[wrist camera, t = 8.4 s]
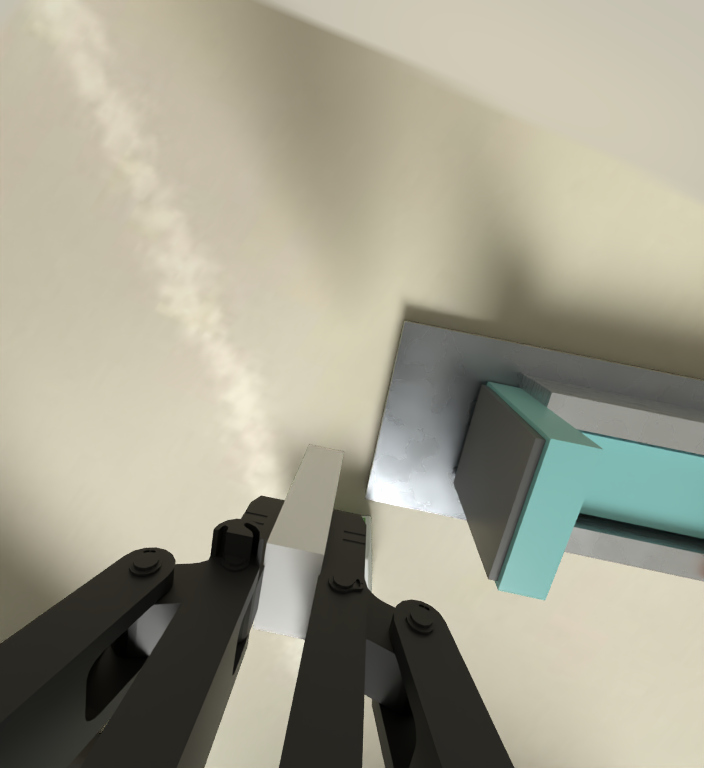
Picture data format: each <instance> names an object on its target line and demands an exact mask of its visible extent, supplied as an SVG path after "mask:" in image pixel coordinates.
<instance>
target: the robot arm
mask: <svg viewBox="0 0 704 768" xmlns="http://www.w3.org/2000/svg"><path fill="white" fill-rule="evenodd" d="M343 456H344V451H339V450H334V449H329V448H324V447H319V446H314V445H309V446H308V448H307V451H306V453H305V455H304V458H303V460H302V462H301V465H300V467H299V469H298V472H297V474H296V476H295V479H294V481H293V483H292V486H291V488H290V490H289V493H288V495H287V497H286V499H285V500H280V499H275V498H270V497H265V496H260V497H258V498H257V499H255V500H254V501H252V502H251V503H250V505H249V506H248V508H247V510H246V512H245V513H244V515H243V517H242V518H241V519H233V520H227V521H225V522H223V523H220V524H219V525H218V526H217V527H216V528H215V529H214V531H213V540H212V548H211V556H210V558H209V560H207V561H204V562H200V563H193V564H175V559H174V557H173V554H171V553H170V552H168V551H167V550H164V549H160V548H143V549H139V550H135V551H133V552H131V553H129V554H127V555H125V556H124V557H122V558H121V559H119V560H118V561H116V562H115V563H114V564H112V565H111V566H109V567H108V568H107V569H105V570H104V571H102V572H101V573H100V574H98V575H97V576H95V577H94V578H93V579H91V580H90V581H88V582H87V583H86V584H84V585H83V586H81V587H80V588H78V589H77V590H76V591H74V592H73V593H71V594H70V595H69V596H67V597H66V598H64V599H63V600H62V601H60V602H59V603H57V604H56V605H55V606H53V607H52V608H50V609H49V610H47V611H46V612H45V613H43V614H42V615H40V616H39V617H38V618H36V619H35V620H33V621H32V622H31V623H29V624H28V625H26V626H25V627H24V628H22V629H21V630H19V631H18V632H16V633H15V634H14V635H12V636H11V637H9V638H8V639H7V640H5V641H4V642H2V643H1V644H0V768H204V767H205V764H206V761H207V758H208V755H209V753H210V750H211V747H212V744H213V741H214V739H215V736H216V733H217V730H218V727H219V725H220V722H221V719H222V716H223V713H224V711H225V708H226V705H227V702H228V699H229V697H230V694H231V691H232V688H233V685H234V683H235V680H236V677H237V674H238V671H239V669H240V666H241V663H242V660H243V657H244V655H245V652H246V649H247V645H248V639H249V633H250V629H251V627H252V624H253V621H254V625H253V629H257V630H262V631H266V632H271V633H276V634H281V635H285V636H290V637H295V638H300V639H304V640H305V643H304V648H303V653H302V658H301V663H300V667H299V672H298V677H297V682H296V687H295V692H294V697H293V702H292V706H291V711H290V716H289V721H288V726H287V731H286V736H285V741H284V745H283V750H282V755H281V760H280V765H279V768H362V753H363V720H364V694H365V695H367V696H368V697H370V698H372V707H373V712H374V717H375V721H376V726H377V731H378V736H379V740H380V745H381V750H382V755H383V759H384V764H385V768H514V766H513V764H512V762H511V760H510V758H509V756H508V754H507V751H506V749H505V747H504V745H503V743H502V741H501V739H500V737H499V734H498V732H497V730H496V728H495V726H494V724H493V722H492V720H491V717H490V715H489V713H488V711H487V709H486V707H485V705H484V703H483V700H482V698H481V696H480V694H479V692H478V690H477V688H476V686H475V683H474V681H473V679H472V677H471V675H470V673H469V671H468V669H467V667H466V664H465V662H464V660H463V658H462V656H461V654H460V652H459V650H458V647H457V645H456V643H455V641H454V639H453V637H452V635H451V633H450V630H449V628H448V626H447V624H446V622H445V620H444V619H443V617H442V616H441V615H440V613H439V612H438V611H436V610H435V609H434V608H433V607H432V606H430V605H428V604H426V603H424V602H422V601H417V600H406V601H402V602H401V603H399V604H398V605H397V606H396V608H395V607H393V606H391V605H389V604H387V603H385V602H383V601H381V600H380V599H378V598H377V597H376V596H375V595H373V594H372V593H371V591H370V590H369V589H368V587H367V584H366V581H365V553H366V527H367V525H366V523H365V521H364V520H363V518H362V516H361V515H358V514H353V513H348V512H344V511H339V510H334V509H333V507H334V502H335V497H336V492H337V486H338V481H339V476H340V471H341V466H342V461H343ZM254 618H255V619H254ZM110 718H111V719H110ZM109 719H110V720H109ZM108 720H109V722H108V724H107V725H106V727H105V728H104V730H103V732H102V733H101V734H97V733H98V732H99V731H100V729H101V728H102V727H103V726H104V725H105V724H106V723H107V721H108Z"/></svg>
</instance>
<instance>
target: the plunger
mask: <svg viewBox="0 0 704 768" xmlns="http://www.w3.org/2000/svg"><path fill="white" fill-rule="evenodd" d="M453 483H454V486H455V489H456V492H457V494H458V497H459V500H460V503H461V506H462V508H463V511H464V514H465V517H466V519H467V522H468V525H469V528H470V530H471V533H472V536H473V539H474V541H475V544H476V547H477V550H478V552H479V555H480V558H481V561H482V563H483V566H484V569H485V572H486V574H487V577H488V579H490V580H494V581H495V583H496V586H497V588H498V590H499V591H504V592H509V593H513V594H518V595H523V596H527V597H532V598H537V599H541V600H546V597H547V594H548V592H549V589H550V587H551V584H552V582H553V579H554V576H555V574H556V571H557V569H558V566H559V564H560V561H561V558H562V556H563V553H564V551H565V548H566V546H567V543H568V540H569V538H570V535H571V533H572V530H573V528H574V525H575V522H576V520H577V517H578V515H579V513H583V514H588V515H593V516H597V517H602V518H607V519H612V520H616V521H621V522H626V523H631V524H635V525H640V526H645V527H650V528H655V529H659V530H664V531H669V532H674V533H678V534H683V535H688V536H693V537H698V538H702V539H704V455H701V454H696V453H691V452H686V451H681V450H676V449H671V448H666V447H661V446H657V445H652V444H647V443H642V442H637V441H632V440H627V439H622V438H617V437H613V436H608V435H603V434H598V433H593V432H588V431H583V430H578V429H576V428H574V427H573V426H571V425H570V424H569V423H567V422H566V421H565V420H563V419H562V418H561V417H559V416H558V415H557V414H555V413H554V412H553V411H551V410H550V409H548V408H547V407H546V406H544V405H543V404H542V403H540V402H539V401H538V400H536V399H535V398H534V397H532V396H531V395H530V394H528V393H527V392H525V391H524V390H523V389H521V388H518V387H513V386H508V385H503V384H498V383H493V382H488V383H487V385H481V388H480V392H479V395H478V399H477V402H476V406H475V409H474V413H473V416H472V420H471V423H470V427H469V430H468V433H467V437H466V440H465V444H464V447H463V451H462V454H461V458H460V461H459V465H458V468H457V472H456V475H455V479H454V482H453Z"/></svg>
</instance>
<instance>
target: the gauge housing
mask: <svg viewBox="0 0 704 768" xmlns="http://www.w3.org/2000/svg"><path fill="white" fill-rule="evenodd" d="M488 382H493V383H498V384H503V385H508V386H513V387H518V388H521V389H523V390H524V391H525V392H527V393H528V394H530V395H531V396H532V397H534V398H535V399H536V400H538V401H539V402H540V403H542V404H543V405H544V406H546V407H547V408H548V409H550V410H551V411H553V412H554V413H555V414H557V415H558V416H559V417H561V418H562V419H563V420H565V421H566V422H567V423H569V424H570V425H571V426H573V427H574V428H576V429H578V430H583V431H588V432H593V433H598V434H603V435H608V436H613V437H617V438H622V439H627V440H632V441H637V442H642V443H647V444H652V445H657V446H661V447H666V448H671V449H676V450H681V451H686V452H691V453H696V454H701V455H704V380H702V379H697V378H692V377H687V376H682V375H677V374H672V373H667V372H662V371H657V370H652V369H647V368H642V367H637V366H632V365H627V364H622V363H617V362H612V361H607V360H602V359H597V358H592V357H587V356H582V355H577V354H572V353H567V352H562V351H557V350H552V349H547V348H542V347H537V346H532V345H527V344H522V343H517V342H512V341H507V340H502V339H497V338H492V337H487V336H482V335H477V334H472V333H467V332H462V331H457V330H452V329H447V328H442V327H437V326H432V325H427V324H422V323H417V322H412V321H407V320H404V323H403V327H402V331H401V336H400V340H399V345H398V349H397V354H396V358H395V363H394V367H393V372H392V376H391V381H390V385H389V389H388V394H387V398H386V403H385V407H384V412H383V416H382V421H381V425H380V430H379V434H378V439H377V443H376V448H375V452H374V456H373V461H372V465H371V470H370V474H369V479H368V483H367V488H366V494H365V499H368V500H373V501H377V502H382V503H387V504H392V505H396V506H401V507H406V508H410V509H415V510H420V511H425V512H429V513H434V514H439V515H444V516H448V517H453V518H458V519H463V520H467V519H466V517H465V514H464V511H463V508H462V506H461V503H460V500H459V497H458V494H457V492H456V489H455V486H454V483H453V482H454V479H455V475H456V472H457V468H458V465H459V461H460V458H461V454H462V451H463V447H464V444H465V440H466V437H467V433H468V430H469V427H470V423H471V420H472V416H473V413H474V409H475V406H476V402H477V399H478V395H479V392H480V388H481V385H487V383H488ZM564 552H568V553H572V554H577V555H582V556H586V557H591V558H596V559H601V560H605V561H610V562H615V563H619V564H624V565H629V566H634V567H638V568H643V569H648V570H652V571H657V572H662V573H667V574H671V575H676V576H681V577H685V578H690V579H695V580H700V581H704V539H702V538H698V537H693V536H688V535H683V534H678V533H674V532H669V531H664V530H659V529H655V528H650V527H645V526H640V525H635V524H631V523H626V522H621V521H616V520H612V519H607V518H602V517H597V516H593V515H588V514H583V513H579V515H578V517H577V520H576V522H575V525H574V528H573V530H572V533H571V535H570V538H569V540H568V543H567V546H566V548H565V551H564Z"/></svg>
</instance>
